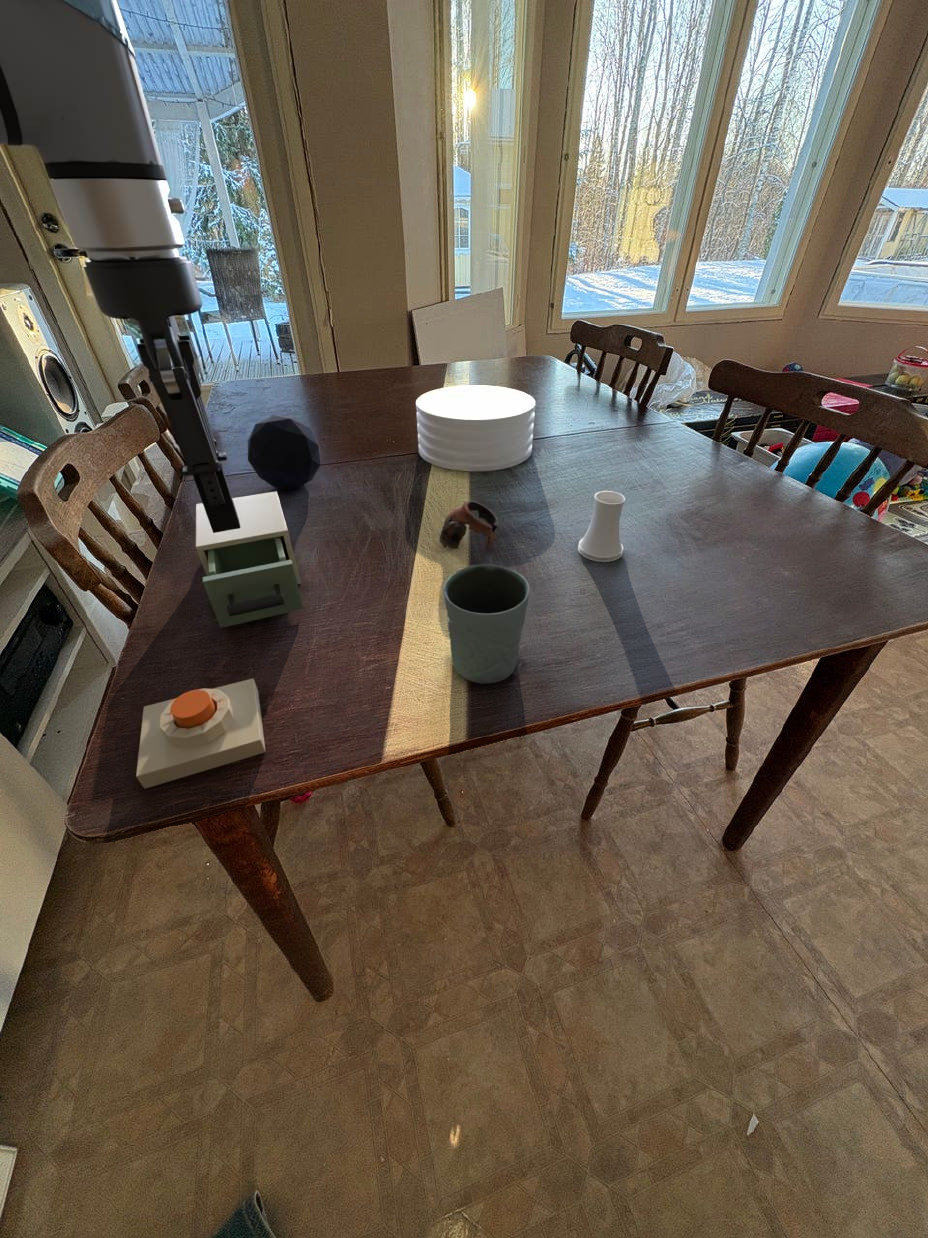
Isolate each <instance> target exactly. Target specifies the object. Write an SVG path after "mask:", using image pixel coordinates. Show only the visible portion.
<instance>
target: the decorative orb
mask: <svg viewBox="0 0 928 1238" xmlns="http://www.w3.org/2000/svg"><path fill="white" fill-rule="evenodd" d="M247 462H248V463H249V464H250V466H251V467H252V469H253V470H254V472H255V473H256V475H257V476H258V477H259V479H261V481H264V482H265V483H267V484H269V485H270V486H271V487H273V488H274V489H285V490H286V489H287V490H297V489H298V488H300V487H303V486H305V485H306V484H308V483H309V482H311V481H312V480H313V479H314V478H315V476H316V474H317V473H318V472H319V469H320V467H321V465H322V464H321V446H320V444H319V442H318V440H317V438H316V436H315V434H314V432H313V430H312V428H311V427H310V426H308V425H307V424H305V423H303V422H302V421H300V420H299V419H297V418H296V417H293V416H285V415H276V414H272V415H271V416H269V417H267V418H264V419H263V420H261V421H259V422H257V423H255V424H254V426H253V428H252V430H251V433H250V435H249V437H248V439H247Z"/></svg>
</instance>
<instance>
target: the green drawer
mask: <svg viewBox="0 0 928 1238" xmlns="http://www.w3.org/2000/svg"><path fill="white" fill-rule="evenodd" d="M208 565H209V575H210V576H207V575H206V576H202V584H203V587H204V589H205V592H206V594H207V597H208V599H209V602H210V604H211V607H212V609H213V612H214V614H215V617H216V620H217V622H218V626H219V627H220V628H222V629H223V628H227V627H231V626H234V625H239V624H244V623H248V622H253V621H257V620H262V619H265V618H266V619H267V618H270V617H274V616H278V615H282V614H283V615H284V614H287V613H293V612H296V611H300V610H304V608H305V607H304V606H303V601H302V597H301V593H300V590H299V589H300V588H299V584H297V581H296V577H295V573H294V569H293V565H292V561H291V560H287V561H286V558H285V554H284V550H283V546H282V542H281V539H280V536H279V537H274V538H268V539H263V540H258V541H252V542H247V543H241V544H236V545H231V546H225V547H220V548H214V549H209V550H208Z"/></svg>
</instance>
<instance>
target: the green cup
mask: <svg viewBox="0 0 928 1238" xmlns="http://www.w3.org/2000/svg"><path fill="white" fill-rule="evenodd" d="M442 593H443V600H444V605H445V610H446V616H447V618H448V621H447V631H448V637H449V640H450V641H449V643H450V644H449V645H450V654H451V662H452V666H453V668H454V669H455V671H456V673H457V674H458V675H459V676H461V677H462V678H464V679H465V680H467V681H470V682H472V683H477V684H487V685H489V684H494V683H495V684H496V683H498V682H501V681H503V680H506V679H507V678H509V677H510V676H511V675H512V674H513V673H514V672H515V669H516V667H517V664H518V659H519V654H520V643H521V638H522V637H521V636H522V631H523V627H524V624H525V618H526V612H527V608H528V604H529V598H530V594H531V587H530V584H529V582H528V580H527V579H526V578H525V576H523V575H522V574H521V573H520V572H518V571H516V570H515V569H513V568H510V567H507V566H504V565H499V564H494V563H493V564H490V563H479V564H473V565H468V566H465V567H461V568H460V569H458V570H456V571H455V572H453V573H452V574H451V575H450V576H449V577H448V578H447V579H446V580H445V582H444V584H443V590H442Z"/></svg>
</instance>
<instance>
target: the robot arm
mask: <svg viewBox="0 0 928 1238" xmlns="http://www.w3.org/2000/svg"><path fill="white" fill-rule="evenodd" d="M136 58H137V57H136V53H135V50H134V48H133V46H132V44H131V41H130V38H129V35H128V32H127V28H126V26H125V22H124V19H123V16H122V14H121V10H120V7H119V4H118V1H117V0H0V145H6V146H10V147H22V146H32V147H34V148H36V151H37V152H38V156H39V157H40V160H41V161H42V163H43V165H44V169H45V171H46V174H47V177H48V179H49V180H48V181H49V184H50V187H51V189H52V192H53V195H54V198H55V200H56V202H57V205H58V208H59V210H60V213H61V215H62V218H63V220H64V223H65V226H66V229H67V231H68V234H69V237H70V238H71V242H72V244H73V246H74V247H75V248H76V249H77V250H79V251H81V252H85V253H86V255H87V258H88V259H86V260H84V264H85V265H82V266H83V269H84V272H85V274H86V277H87V279H88V282H89V285H90V287H91V290H92V292H93V296H94V298H95V300H96V303H97V305H98V308H99V310H100V312H101V313H102V314H103V315H105V316H106V317H108V318H112V319H117V320H128V319H133V320H135V321H136V322H138V325H139V329H140V333H141V336H142V337H139V338H138V339H139V343H136V348H137V352H138V355H139V357H140V360H141V362H142V364H143V366H144V367H145V368H146V369H147V370H148V379H149V381H150V382H151V383H152V385H153V387H154V389H155V392H156V394H157V397H158V398H159V400H160V403H161V405H162V407H163V410H164V412H165V415H166V417H167V420H168V423H169V425H170V427H171V430H172V432H173V435H174V437H175V440H176V443H177V445H178V449H179V451H180V453H181V455H182V458H183V460H184V463H185V465H186V466H182V474H183V476H184V477H190V476H192V477H193V480H194V483H195V486H196V489H197V491H198V495H199V498H200V500H201V503H203V506H204V508H205V511H206V514H207V517H208V520H209V523H210V525H211V528H212V531H213V533H217V532H222V531H228V530H233V529H239V528H240V521H239V518H238V515H237V512H236V509H235V505H234V502H233V499H232V498H233V496H232V493H231V489H230V487H229V484H228V481H227V477H226V473H225V471H224V467H223V465H222V463H221V462H225V461H228V458H227V453H226V451H222V452H218V450H217V449H218V442H217V440H216V439H215V437H214V434H213V430H212V426H211V423H210V420H209V416H208V414H207V410H206V407H205V403H204V400H203V396H202V381H201V377H200V374H199V371H198V367H197V365H196V362H195V349H194V348H195V347H194V344H193V341H192V338H191V335H190V334H181V331H180V329H179V326H178V323H177V321H176V316H180V317H181V316H186V315H191V314H194V313H197V312H199V311H200V310H201V309H202V307H203V300H202V296H201V293H200V289H199V287H198V282H197V279H196V275H195V272H194V269H193V268H194V267H193V265H192V261H190V260H188V258H187V256H182V255H180V251H179V249H182V248H183V247H184V245H185V243H186V241H185V238H184V235H183V231H182V229H181V224H180V221H179V220H177V218H176V217H175V215H184V213H185V212H186V209H185V205H184V203H183V201H182V200H181V199H180V198H177V197H168V196H169V193H170V191H171V189H170V187H169V184H168V181H167V175H166V171H165V168H164V166H163V162H162V161H163V160H162V158H161V154H160V150H159V147H158V143H157V139H156V135H155V131H154V127H153V124H152V121H151V117H150V112H149V108H148V105H147V101H146V97H145V93H144V90H143V85H142V81H141V78H140V75H139V71H138V66H137V63H136V60H137V59H136Z"/></svg>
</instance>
